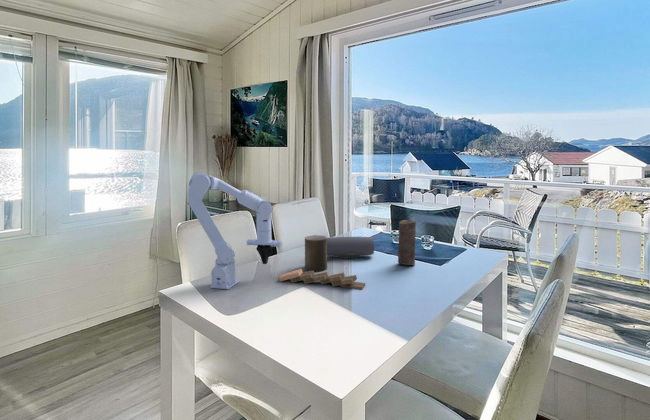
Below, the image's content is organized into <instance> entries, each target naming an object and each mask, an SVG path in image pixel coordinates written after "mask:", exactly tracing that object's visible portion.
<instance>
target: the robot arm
mask: <svg viewBox="0 0 650 420" xmlns="http://www.w3.org/2000/svg"><path fill="white" fill-rule="evenodd" d="M208 190H211V191H212V190H220V191H221V192H223V193H226V194H228V195H230V196H232V197H234V198H236V199H237V202H238V204H240V205H242V206H244V207H246V208H248V209H250V210H251V211H255V212H256V219H255V220H256V238H255V239H254V238H253V239H247V240H246V246H256V248H255V249H256V251H257V253H258V254H259V256H260V259H261V263H262V265H267V264H268V262H269V256H270V254H271V251H272V249H273V248H275V247H278V248H282V247H283V246H284V245H283V241H280V240H276V239H275V240H274V239H272V217H271V216H272V215H271V214H272V212H273V209H274V208H273V206H272V204H271V202H269V200H266V199H265V198H264V197H263V196H261V195H260V196H258V195H257V194H255V193H253V191H252V190H250V189H248V190H247V189H242V190H240V189H238V188H237V187H234V186H232V185H231V184H229V183H227V182H226V181H224V180H222V179H220V178H218V177H215V176H213V175H210V174H207V173H205V172H202V171H197V172H194V174H192V176H191V178H190V180H189V183H188V192H187V204H188V205H189V207H190V208H191V210H192V212H193V213H194V215H195V216H196V219H197V221H198V222H199V224H200V225H201V227H202V229H203V231H204V232H205V233H206V236H207V238H208V239H209V240H210V241H209V242H211V244H212V246H213V248H214V252H215V254H216V256H217V258H216V259H215V265H214V267H213V268H212V269H211V272H210V273H211V274H210V275H211V285H210V289H211V288H212V289H220V290H230V289H232V288H233V287H234V286H235V285H236V284H238V283H239V282H241V280H240V279H237V277H236V259H235V258H236V257H235V255H236V253H235V251H234V250H233V248H232V245H231V244H230V243H228V242H227V241H226V240H225V238H224V237H223V236H222V233H221V232H220V230H219V228H218V227H217V225H216V223H215V222H214V219H213V218H212V216H211V215H210V213H209V211H208V210H207V208H206V206H205V204H204V202H203V198H204V196H205V193H206V192H207V191H208Z"/></svg>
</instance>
